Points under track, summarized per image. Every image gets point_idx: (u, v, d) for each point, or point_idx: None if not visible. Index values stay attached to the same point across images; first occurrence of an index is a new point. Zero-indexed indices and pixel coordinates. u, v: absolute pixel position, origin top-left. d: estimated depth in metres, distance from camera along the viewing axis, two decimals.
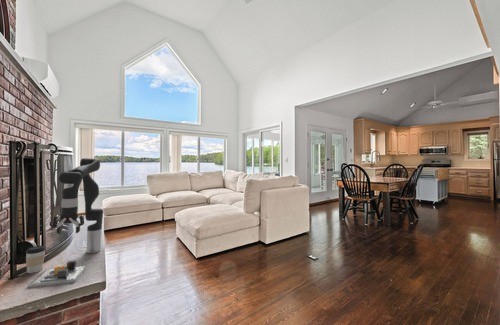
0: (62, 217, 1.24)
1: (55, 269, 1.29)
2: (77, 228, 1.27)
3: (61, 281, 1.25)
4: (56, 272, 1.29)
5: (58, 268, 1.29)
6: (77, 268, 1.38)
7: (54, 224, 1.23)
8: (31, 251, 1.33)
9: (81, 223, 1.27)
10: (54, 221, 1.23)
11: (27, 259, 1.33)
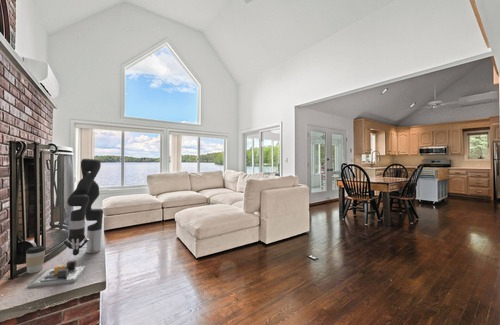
0: (70, 240, 1.31)
1: (55, 269, 1.29)
2: (76, 250, 1.32)
3: (61, 281, 1.25)
4: (56, 272, 1.29)
5: (58, 268, 1.29)
6: (77, 268, 1.38)
7: (70, 246, 1.31)
8: (31, 251, 1.33)
9: (80, 246, 1.33)
10: (67, 245, 1.31)
11: (27, 259, 1.33)
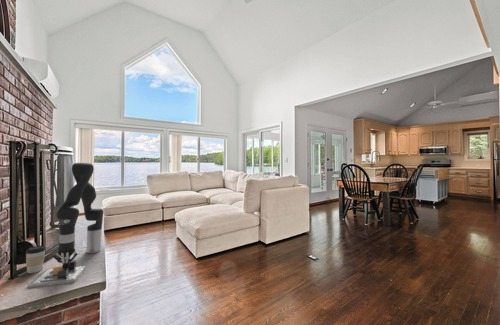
0: (59, 254, 1.30)
1: (54, 269, 1.29)
2: (66, 264, 1.31)
3: (61, 281, 1.25)
4: (55, 272, 1.29)
5: (57, 268, 1.29)
6: (77, 268, 1.38)
7: (60, 260, 1.30)
8: (31, 251, 1.33)
9: (70, 259, 1.31)
10: (56, 259, 1.29)
11: (27, 259, 1.33)
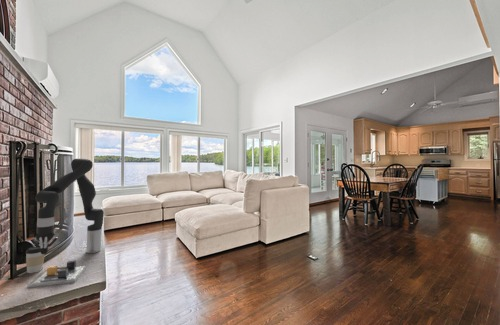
0: (37, 238, 1.26)
1: (48, 270, 1.28)
2: (45, 249, 1.27)
3: (61, 281, 1.25)
4: (49, 273, 1.28)
5: (51, 269, 1.28)
6: (77, 268, 1.38)
7: (38, 245, 1.26)
8: (31, 251, 1.33)
9: (49, 244, 1.27)
10: (34, 243, 1.25)
11: (27, 259, 1.33)
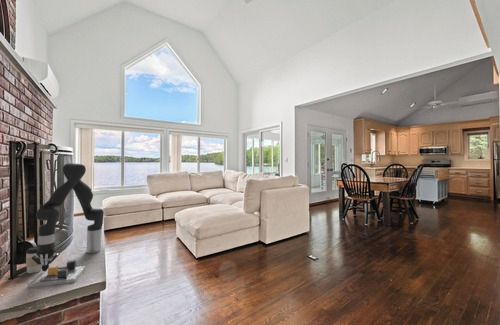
0: (38, 255, 1.27)
1: (48, 270, 1.28)
2: (45, 266, 1.28)
3: (61, 281, 1.25)
4: (49, 273, 1.28)
5: (51, 269, 1.28)
6: (77, 268, 1.38)
7: (39, 262, 1.27)
8: (31, 251, 1.33)
9: (49, 261, 1.28)
10: (35, 260, 1.26)
11: (27, 259, 1.33)
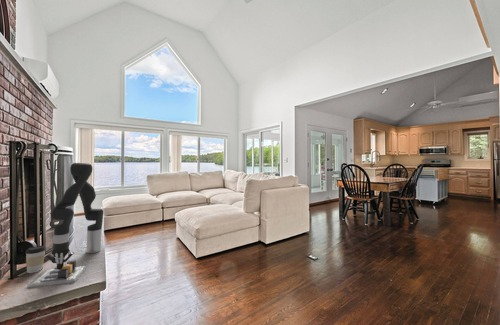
0: (53, 254, 1.29)
1: (63, 268, 1.30)
2: (60, 265, 1.30)
3: (61, 281, 1.25)
4: None
5: (66, 267, 1.31)
6: (77, 268, 1.38)
7: (54, 261, 1.29)
8: (31, 251, 1.33)
9: (64, 260, 1.31)
10: (50, 259, 1.28)
11: (27, 259, 1.33)
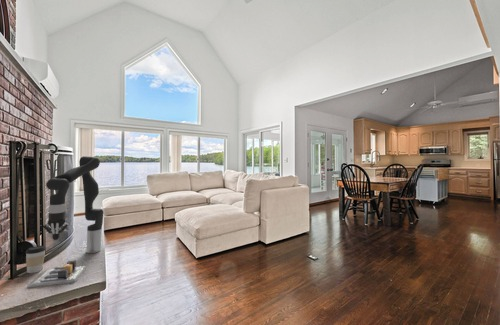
0: (49, 224, 1.29)
1: (63, 268, 1.30)
2: (56, 235, 1.30)
3: (61, 281, 1.25)
4: None
5: (66, 267, 1.31)
6: (77, 268, 1.38)
7: (50, 231, 1.29)
8: (31, 251, 1.33)
9: (60, 230, 1.30)
10: (46, 229, 1.28)
11: (27, 259, 1.33)
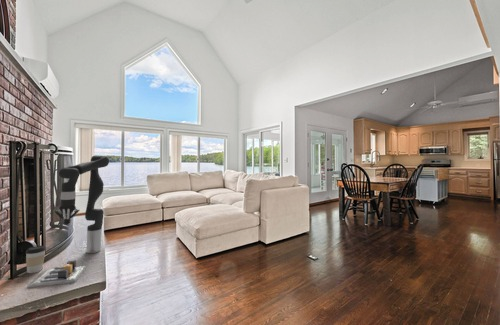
0: (61, 210, 1.39)
1: (63, 268, 1.30)
2: (67, 220, 1.41)
3: (61, 281, 1.25)
4: None
5: (66, 267, 1.31)
6: (77, 268, 1.38)
7: (61, 216, 1.39)
8: (31, 251, 1.33)
9: (71, 216, 1.41)
10: (58, 214, 1.39)
11: (27, 259, 1.33)
